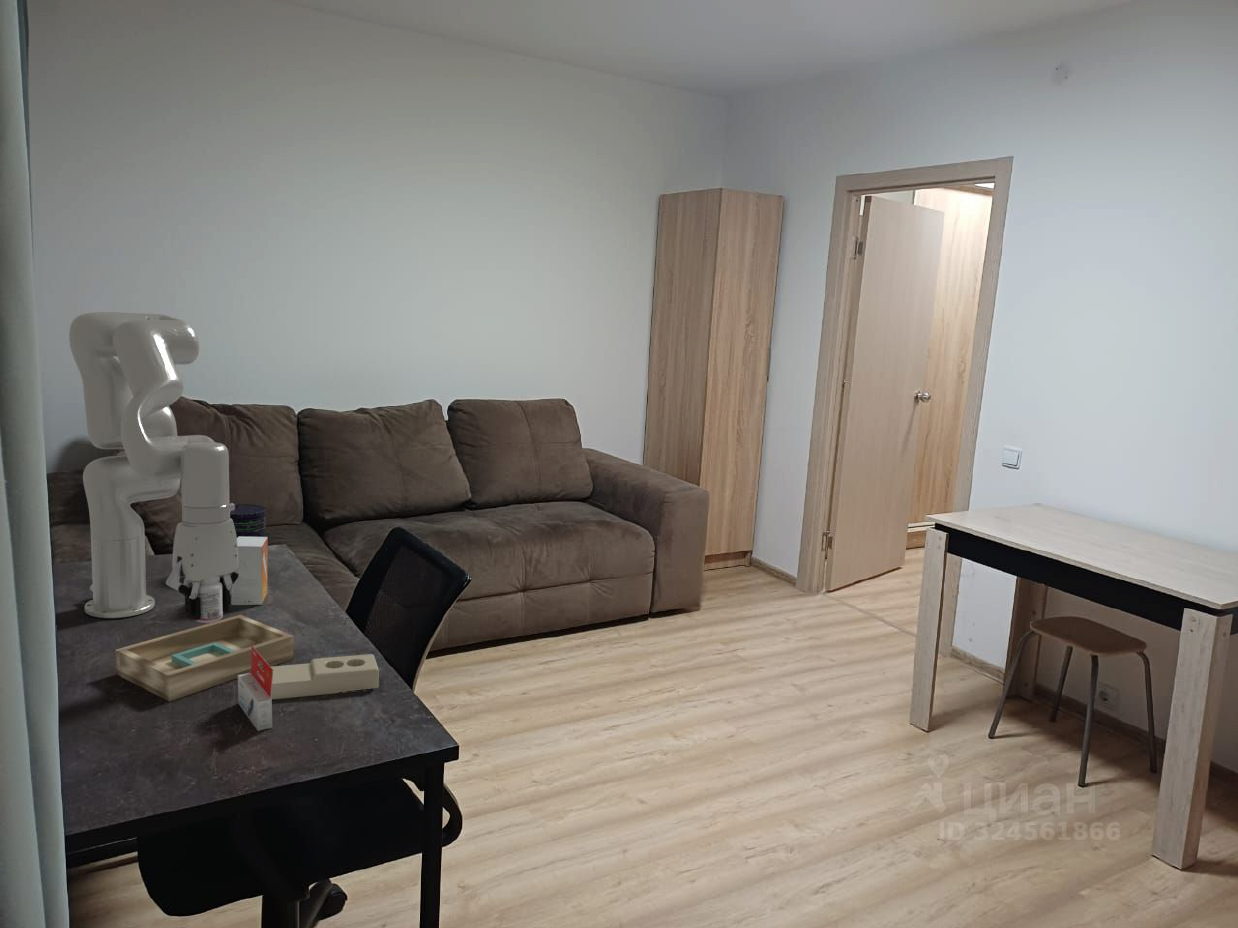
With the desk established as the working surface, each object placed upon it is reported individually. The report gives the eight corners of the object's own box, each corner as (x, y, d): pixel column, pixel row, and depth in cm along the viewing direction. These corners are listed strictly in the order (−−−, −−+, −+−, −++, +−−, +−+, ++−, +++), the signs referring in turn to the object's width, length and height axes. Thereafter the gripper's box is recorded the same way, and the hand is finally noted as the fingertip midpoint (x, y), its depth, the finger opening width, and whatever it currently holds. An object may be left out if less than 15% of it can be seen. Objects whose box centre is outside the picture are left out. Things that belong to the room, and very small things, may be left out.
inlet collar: (171, 661, 162) (171, 655, 162) (215, 648, 169) (215, 641, 169) (199, 674, 158) (199, 668, 158) (243, 660, 165) (243, 654, 165)
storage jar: (274, 571, 218) (274, 510, 215) (235, 579, 210) (235, 516, 208) (251, 561, 224) (251, 502, 221) (213, 569, 216) (212, 507, 214)
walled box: (116, 674, 158) (115, 649, 157) (240, 636, 178) (240, 614, 177) (169, 701, 150) (168, 675, 149) (293, 658, 169) (293, 635, 169)
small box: (262, 605, 195) (262, 546, 193) (230, 605, 194) (230, 546, 192) (268, 593, 203) (268, 536, 201) (237, 593, 202) (237, 535, 199)
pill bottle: (199, 613, 164) (198, 568, 163) (226, 614, 164) (226, 569, 163) (189, 623, 159) (188, 576, 158) (217, 623, 160) (216, 577, 158)
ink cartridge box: (257, 731, 142) (257, 672, 140) (237, 704, 151) (236, 647, 149) (273, 728, 144) (273, 669, 142) (252, 700, 152) (252, 645, 150)
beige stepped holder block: (266, 661, 159) (373, 652, 165) (266, 683, 159) (373, 674, 166) (268, 678, 152) (379, 668, 159) (268, 701, 153) (378, 690, 160)
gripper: (236, 503, 168) (238, 598, 171) (145, 518, 154) (149, 621, 157) (262, 510, 164) (263, 607, 167) (171, 526, 150) (174, 632, 153)
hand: (208, 613), depth 162 cm, fingers closed on pill bottle, 4 cm apart
